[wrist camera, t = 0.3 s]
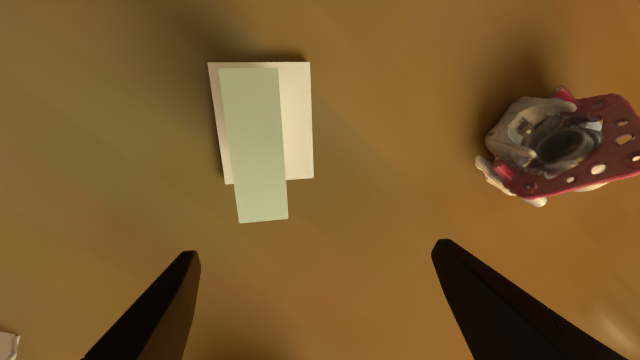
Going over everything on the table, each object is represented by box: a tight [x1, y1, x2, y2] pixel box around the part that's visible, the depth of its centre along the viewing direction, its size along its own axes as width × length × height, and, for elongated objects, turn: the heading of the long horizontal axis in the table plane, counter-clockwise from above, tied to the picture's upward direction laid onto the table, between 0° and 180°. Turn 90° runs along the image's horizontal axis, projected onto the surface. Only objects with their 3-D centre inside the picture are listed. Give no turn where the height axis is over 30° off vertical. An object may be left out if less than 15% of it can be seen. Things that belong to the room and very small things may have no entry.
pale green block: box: [218, 68, 288, 223], centre depth 14 cm, size 7×2×5 cm, turn 1°
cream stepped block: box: [207, 62, 314, 184], centre depth 20 cm, size 10×8×6 cm
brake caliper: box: [475, 86, 640, 207], centre depth 24 cm, size 11×11×12 cm
